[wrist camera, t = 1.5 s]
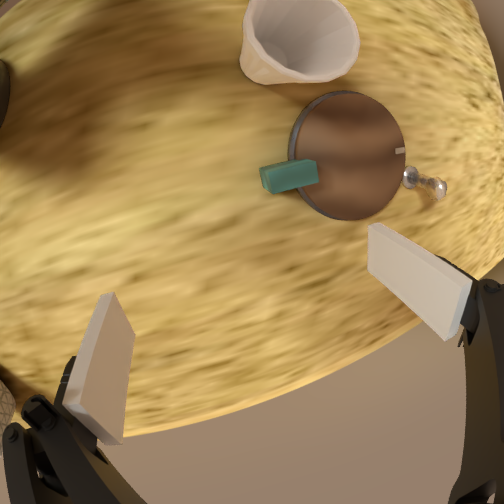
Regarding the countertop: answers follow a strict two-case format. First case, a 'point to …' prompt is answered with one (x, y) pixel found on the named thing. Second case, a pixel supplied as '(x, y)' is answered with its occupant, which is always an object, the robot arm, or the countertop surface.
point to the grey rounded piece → (424, 183)
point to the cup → (297, 41)
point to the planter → (5, 410)
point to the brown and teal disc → (344, 158)
